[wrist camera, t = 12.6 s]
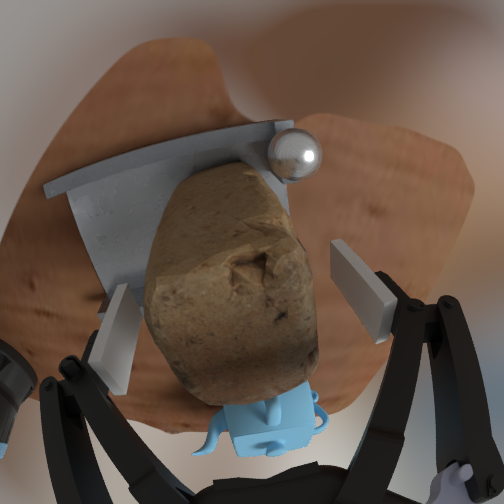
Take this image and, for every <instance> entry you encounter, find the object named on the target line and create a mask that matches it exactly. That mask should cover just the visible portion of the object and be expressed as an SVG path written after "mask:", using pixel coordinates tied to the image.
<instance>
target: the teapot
mask: <svg viewBox="0 0 504 504" xmlns="http://www.w3.org/2000/svg"><path fill="white" fill-rule="evenodd" d="M312 397H313V398H314V399H312ZM317 400H318V394H317V392H316V391H314V390H310V386H309V383H308V380H307V381H306V382H304V383H303V384H301V385H300V386H298V387H296V388H294V389H292V390H290V391H288V392H285V393H283V394H281V395H278V396H275V397H272V398H270V399H267V400H264V401H259V402H255V403H251V404H245V405H223V409H221V410H219V411H218V412H217V413H215V414H214V416H213V417H212V419H211V421H210V424H209V428H208V434H207V438H206V442H205V444H204V445H203V447H201V449H199V450H197V451H196V452H194V453H192V455H194V456H197V455H205V454H208V453H211V452H212V451H213V450H214V449H215V447H216V444H217V441H218V437H219V435H220V433H221V432H222V431H224V430H226V429H228V431H229V434H230V437H231V440H232V443H233V445H234V448H235V451H236V453H237V455H238V456H239V457H249V456H260V455H266V456H269V457H275V456H280V455H283V454H284V453H286V452H287V451H289V450H294V449H299V448H302V447H306V446H308V444H309V442H310V440H311V437H312V435H315V434H319V433H321V432H322V431H323V430H324V429H325V428H326V427H327V425H328V422H329V417H328V414H327V413H326V412H325V411H324V410H323V409H322V408H321V407H320V406H319V405H317V404H316V403H315V402H317ZM314 411H315V412H316V413H317V414H318V415H319V416H320V417H321V419H322V420H323V424H322V425H320V426H319V427H316V428H315V413H314Z"/></svg>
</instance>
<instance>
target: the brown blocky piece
mask: <svg viewBox="0 0 504 504" xmlns="http://www.w3.org/2000/svg"><path fill="white" fill-rule="evenodd" d="M143 310H144V318H145V322H146V324H147V326H148V329H149V331H150V333H151V335H152V337H153V340H154V342H155V343H156V345H157V346H158V348H159V349H160V350H161V352H162V353H163V355H164V356H165V358H166V360H167V362H168V364H169V365H170V367H171V369H172V371H173V372H174V374H175V375H176V376H177V378H178V379H179V381H180V382H181V383H182V385H183V386H184V388H185V389H186V390H187V391H188V392H189V393H190V394H192V395H193V396H195V397H196V398H198V399H200V400H202V401H203V402H205V403H207V404H209V405H245V404H251V403H255V402H259V401H264V400H267V399H270V398H272V397H275V396H278V395H281V394H283V393H285V392H288V391H290V390H292V389H294V388H296V387H298V386H300V385H301V384H303V383H304V382H306V381H307V380H308V379H309V378H310V376H311V375H312V374H313V373H314V372H315V371H316V368H317V363H318V359H319V349H318V340H317V339H318V336H317V313H316V304H315V297H314V291H313V278H312V271H311V268H310V265H309V262H308V259H307V256H306V253H305V251H304V249H303V247H302V246H301V244H300V243H299V242H298V240H297V237H296V234H295V231H294V228H293V225H292V221H291V219H290V217H289V216H288V214H287V211H286V210H285V208H284V207H283V206H282V205H281V203H280V201H279V199H278V197H277V195H276V194H275V193H274V191H273V190H272V189H271V188H270V187H269V185H268V184H267V183H266V181H265V180H264V179H263V177H262V176H261V175H260V174H259V172H258V171H257V170H256V169H255V168H254V167H253V166H251V165H250V164H248V163H245V162H231V163H225V164H221V165H217V166H213V167H209V168H206V169H203V170H201V171H199V172H197V173H195V174H193V175H191V176H190V177H189V178H187V179H185V180H183V181H181V182H180V183H179V184H178V185H177V187H176V188H175V190H174V191H173V193H172V195H171V197H170V199H169V201H168V203H167V205H166V208H165V210H164V212H163V214H162V217H161V219H160V222H159V225H158V227H157V231H156V234H155V237H154V239H153V242H152V246H151V250H150V255H149V259H148V263H147V268H146V274H145V282H144V292H143Z"/></svg>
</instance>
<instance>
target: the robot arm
mask: <svg viewBox="0 0 504 504" xmlns="http://www.w3.org/2000/svg"><path fill="white" fill-rule="evenodd" d="M330 260H331V278H332V280H333V281H334V282H335V284H336V285H337V287H338V288H339V290H340V291H341V292H342V294H343V295H344V297H345V298H346V300H347V301H348V303H349V304H350V306H351V307H352V308H353V310H354V311H355V313H356V314H357V316H358V317H359V319H360V320H361V322H362V323H363V325H364V326H365V328H366V329H367V331H368V332H369V334H370V335H371V337H372V339H373V340H374V342H375V343H376V344H378V343H381V342H383V341H386V340H388V339H389V335H390V332H391V333H392V334H393V336H394V339H393V343H392V346H391V351H390V355H389V359H388V363H387V366H386V370H385V373H384V377H383V380H382V383H381V386H380V390H379V393H378V396H377V399H376V402H375V405H374V407H373V410H372V413H371V416H370V419H369V421H368V424H367V426H366V429H365V431H364V434H363V436H362V439H361V441H360V443H359V446H358V448H357V450H356V452H355V455H354V457H353V459H352V461H351V463H350V465H349V467H348V469H344V468H341V467H337V466H331V465H318V462H317V461H316V462H312V463H308V464H304V465H301V466H297V467H293V468H290V469H288V470H286V471H284V472H282V473H279V474H277V475H275V476H272V477H271V478H268V479H253V478H239V477H237V478H229V479H219V480H213V485H211V486H209V487H206V488H205V489H203V490H201V491H200V492H198V493H197V494H195V493H194V492H192V491H191V490H190V489H189V488H187V487H186V486H185V485H184V484H182V483H181V482H180V481H179V480H178V479H177V478H176V477H175V476H174V475H173V474H172V473H171V472H170V471H169V470H168V469H167V468H166V467H165V465H164V464H163V463H162V462H161V461H160V460H159V459H158V458H157V457H156V456H155V455H154V454H153V452H152V451H151V450H150V449H149V448H148V447H147V445H146V444H145V443H144V442H143V441H142V439H141V438H140V437H139V436H138V434H137V433H136V432H135V431H134V430H133V428H132V427H131V426H130V424H129V423H128V422H127V420H126V419H125V418H124V416H123V415H122V414H121V412H120V411H119V409H118V408H117V407H116V405H115V404H114V402H113V401H112V399H111V398H110V397H109V396H108V391H109V390H110V391H111V392H112V393H113V394H114V395H126V393H127V388H128V382H129V377H130V372H131V367H132V362H133V357H134V352H135V347H136V343H137V338H138V334H139V330H140V326H141V322H142V318H143V315H142V313H141V311H140V308H139V306H138V304H137V302H136V300H135V298H134V296H133V293H132V291H131V289H130V287H129V284H128V283H125V284H120V285H118V286H117V288H116V290H115V293H114V295H113V297H112V299H111V302H110V304H109V307H108V309H107V311H106V314H105V316H104V319H103V321H102V324H101V327H100V329H99V330H95V331H94V332H93V333H92V335H91V336H90V338H89V340H88V344H87V345H86V348H85V349H86V350H85V351H84V353H83V356H82V359H81V362H80V360H79V359H78V358H77V357H76V356H74V355H71V356H68V357H66V358H64V359H63V360H62V361H61V363H60V364H59V372H60V373H61V374H62V375H63V377H64V378H65V380H62V381H59V382H58V381H57V380H56V379H55V378H54V377H52V376H50V377H47V378H45V379H44V380H43V381H42V382H41V384H40V388H39V394H40V411H41V423H42V431H43V440H44V446H45V453H46V458H47V464H48V468H49V473H50V478H51V482H52V486H53V490H54V494H55V497H56V501H57V504H113V502H112V500H111V498H110V495H109V492H108V490H107V488H106V485H105V482H104V480H103V477H102V475H101V472H100V469H99V466H98V463H97V460H96V457H95V454H94V450H93V447H92V444H91V440H90V437H89V433H88V429H87V425H86V421H85V418H86V420H87V421H88V423H89V425H90V427H91V429H92V430H93V432H94V434H95V435H96V437H97V439H98V440H99V442H100V444H101V445H102V447H103V448H104V450H105V452H106V453H107V455H108V456H109V458H110V459H111V461H112V462H113V463H114V465H115V466H116V468H117V469H118V471H119V472H120V473H121V475H122V476H123V477H124V479H125V480H126V481H127V483H128V484H129V488H128V489H129V491H130V493H131V494H132V495H133V497H134V498H135V499H136V500H137V501H138V503H139V504H421V503H419V502H416V501H413V500H411V499H409V498H406V497H404V496H401V495H399V494H396V493H394V492H392V491H390V490H387V488H388V485H389V483H390V480H391V478H392V475H393V473H394V470H395V468H396V465H397V462H398V459H399V456H400V453H401V450H402V447H403V444H404V440H405V437H404V431H405V427H406V424H407V421H408V417H409V413H410V409H411V405H412V401H413V396H414V392H415V387H416V382H417V377H418V372H419V366H420V360H421V353H422V345H423V343H427V347H428V353H429V359H430V366H431V374H432V381H433V391H434V402H435V418H436V465H437V473H438V474H437V475H436V476H435V477H434V479H433V480H432V482H431V486H430V497H429V499H428V501H427V503H426V504H481V503H483V502H485V501H487V500H490V499H492V498H494V497H496V496H498V495H499V494H500V493H501V492H502V491H503V489H504V464H503V461H502V459H501V456H500V454H499V451H498V449H497V447H496V444H495V442H494V440H493V437H492V432H491V424H490V416H489V409H488V404H487V398H486V393H485V388H484V383H483V378H482V374H481V370H480V366H479V362H478V358H477V354H476V351H475V347H474V344H473V341H472V337H471V335H470V332H469V328H468V325H467V322H466V319H465V317H464V314H463V311H462V308H461V306H460V303H459V301H458V300H457V299H456V298H454V297H452V296H449V295H444V296H441V297H440V298H439V299H438V302H437V304H430V305H425V304H424V303H423V302H422V301H420V300H418V299H413V298H409V297H408V295H407V294H406V293H405V292H404V291H403V290H402V289H401V288H400V287H399V286H398V285H397V284H396V283H395V282H394V281H393V280H392V279H391V278H390V277H389V275H387V274H385V273H383V272H381V271H378V272H375V273H374V272H373V271H372V270H371V269H370V268H369V267H368V266H367V265H366V264H365V263H364V262H363V261H362V260H361V259H360V258H359V257H358V255H357V254H356V253H355V252H354V251H353V250H352V249H351V248H350V247H349V246H348V245H347V244H346V243H345V242H344V241H343V240H342V239H337V240H332V241H330ZM37 382H38V379H37V376H36V374H35V372H34V370H33V369H32V367H31V366H30V365H29V363H28V362H27V361H26V360H25V359H24V358H23V357H22V356H21V355H20V354H19V353H18V352H17V351H16V350H14V349H13V348H12V347H11V346H9V345H8V344H6V343H5V342H3V341H1V340H0V459H1V458H3V456H4V453H5V451H6V448H7V446H8V441H9V437H10V434H11V431H12V427H13V424H14V421H15V418H16V415H17V412H18V409H19V407H20V405H21V404H22V403H23V402H24V401H25V400H26V399H27V398H28V397H29V396H30V395H31V394H32V393H33V391H34V390H35V387H36V385H37ZM84 416H85V417H84Z"/></svg>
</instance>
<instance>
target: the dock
mask: <svg viewBox="0 0 504 504" xmlns="http://www.w3.org/2000/svg"><path fill="white" fill-rule="evenodd" d="M231 162H245V163H248V164H250V165H251V166H253V167H254V168H255V169H256V170H257V171H258V172H259V174H260V175H261V176H262V177H263V179H264V180H265V181H266V183H267V184H268V185H269V187H270V188H271V189H272V190H273V191H274V193H275V194H276V195H277V197H278V199H279V201H280V203H281V205H282V206H283V207H284V208H285V210H286V211H287V214H288V216H289V206H288V197H287V189H286V184H289V183H296V182H300V181H303V180H306V179H308V178H310V177H311V176H313V175H314V174H315V173H316V172H317V171H318V169H319V167H320V165H321V162H322V148H321V145H320V143H319V141H318V140H317V138H316V137H315V136H314V135H313V134H311V133H310V132H308V131H307V130H304V129H301V128H294V123H293V120H279V119H278V120H277V119H276V120H268V121H261V122H254V123H247V124H241V125H235V126H229V127H223V128H218V129H213V130H208V131H203V132H198V133H194V134H189V135H185V136H181V137H177V138H173V139H169V140H165V141H161V142H157V143H154V144H150V145H147V146H143V147H140V148H136V149H133V150H130V151H127V152H124V153H120V154H117V155H114V156H111V157H108V158H106V159H103V160H100V161H97V162H94V163H92V164H89V165H86V166H84V167H81V168H79V169H76V170H74V171H71V172H69V173H66V174H64V175H62V176H60V177H58V178H56V179H54V180H52V181H50V182H48V183H46V184H44V185H43V188H44V191H45V194H46V197H47V199H49V198H51V197H54V196H56V195H59V194H61V193H64V192H66V193H67V197H68V200H69V203H70V206H71V209H72V212H73V215H74V218H75V220H76V223H77V226H78V229H79V231H80V234H81V236H82V239H83V242H84V244H85V247H86V249H87V251H88V254H89V256H90V259H91V261H92V263H93V266H94V268H95V270H96V272H97V275H98V277H99V279H100V281H101V283H102V285H103V287H104V289H105V291H106V296H105V298H104V300H103V302H102V304H101V306H100V308H99V311H98V313H97V314H98V316H99V318H100V320H101V321H103V319H104V316H105V314H106V311H107V309H108V307H109V304H110V302H111V299H112V297H113V295H114V293H115V290H116V288H117V286H118V285H120V284H125V283H128V284H129V287H130V289H131V291H132V293H133V296H134V298H135V300H136V302H137V304H138V306H139V308H140V311H141V313H142V315H143V318H144V310H143V292H144V282H145V274H146V268H147V263H148V259H149V255H150V250H151V246H152V242H153V239H154V237H155V234H156V231H157V227H158V225H159V222H160V219H161V217H162V214H163V212H164V210H165V208H166V205H167V203H168V201H169V199H170V197H171V195H172V193H173V191H174V190H175V188H176V187H177V185H178V184H179V183H180V182H181V181H183V180H185V179H187V178H189V177H190V176H191V175H193V174H195V173H197V172H199V171H201V170H203V169H206V168H209V167H213V166H217V165H221V164H225V163H231ZM289 217H290V216H289ZM297 240H298V238H297ZM298 242H299V243H300V241H299V240H298ZM300 244H301V243H300ZM301 246H302V244H301ZM302 247H303V246H302ZM303 249H304V247H303ZM304 251H305V253H306V250H305V249H304ZM306 256H307V255H306Z"/></svg>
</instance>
